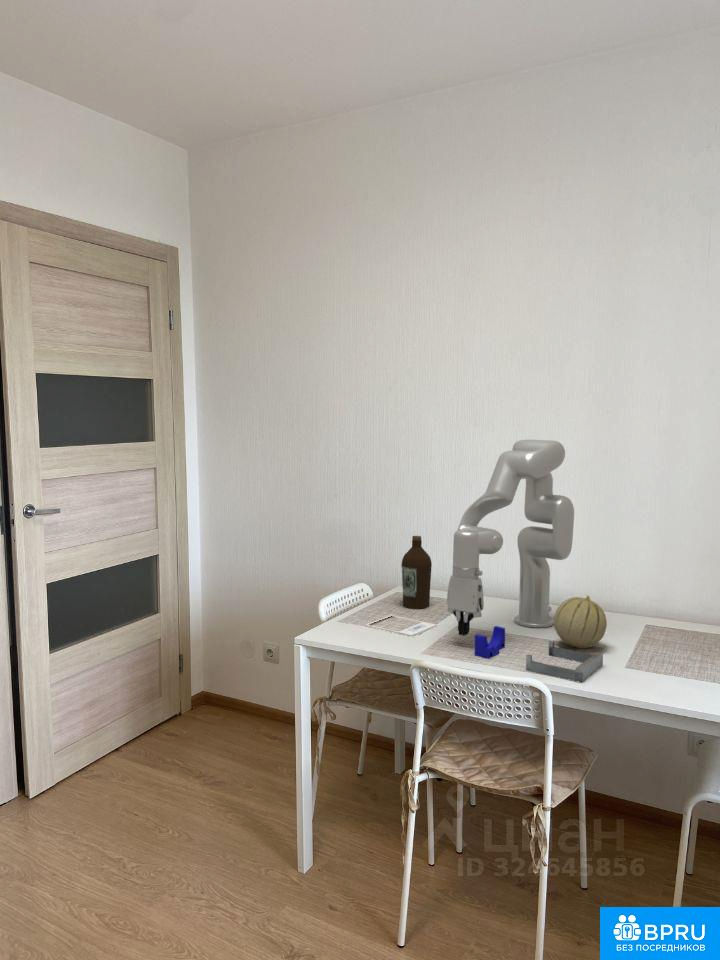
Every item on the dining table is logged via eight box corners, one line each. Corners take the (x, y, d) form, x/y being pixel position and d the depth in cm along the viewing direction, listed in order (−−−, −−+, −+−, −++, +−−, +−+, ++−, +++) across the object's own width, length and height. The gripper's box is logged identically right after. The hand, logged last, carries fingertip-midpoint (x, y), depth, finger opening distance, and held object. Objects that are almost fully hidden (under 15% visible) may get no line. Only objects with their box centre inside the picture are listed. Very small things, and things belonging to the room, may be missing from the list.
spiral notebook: (411, 634, 222) (365, 624, 233) (411, 638, 223) (365, 627, 233) (437, 624, 234) (391, 614, 245) (437, 627, 234) (391, 617, 245)
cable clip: (488, 659, 203) (488, 638, 202) (474, 656, 206) (474, 635, 205) (509, 648, 212) (509, 628, 211) (495, 645, 215) (496, 625, 214)
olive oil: (415, 600, 266) (416, 532, 264) (437, 606, 258) (438, 536, 256) (395, 605, 259) (395, 536, 257) (417, 611, 251) (417, 540, 249)
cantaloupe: (544, 647, 213) (545, 596, 212) (567, 635, 224) (568, 588, 223) (592, 658, 203) (594, 605, 202) (614, 646, 214) (615, 596, 213)
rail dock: (550, 654, 206) (550, 640, 206) (602, 665, 197) (603, 651, 197) (525, 670, 194) (526, 655, 193) (580, 682, 185) (581, 667, 184)
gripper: (494, 574, 210) (492, 636, 212) (449, 567, 219) (448, 627, 221) (482, 578, 204) (480, 642, 206) (436, 571, 213) (435, 632, 215)
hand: (463, 634), depth 213 cm, fingers closed
